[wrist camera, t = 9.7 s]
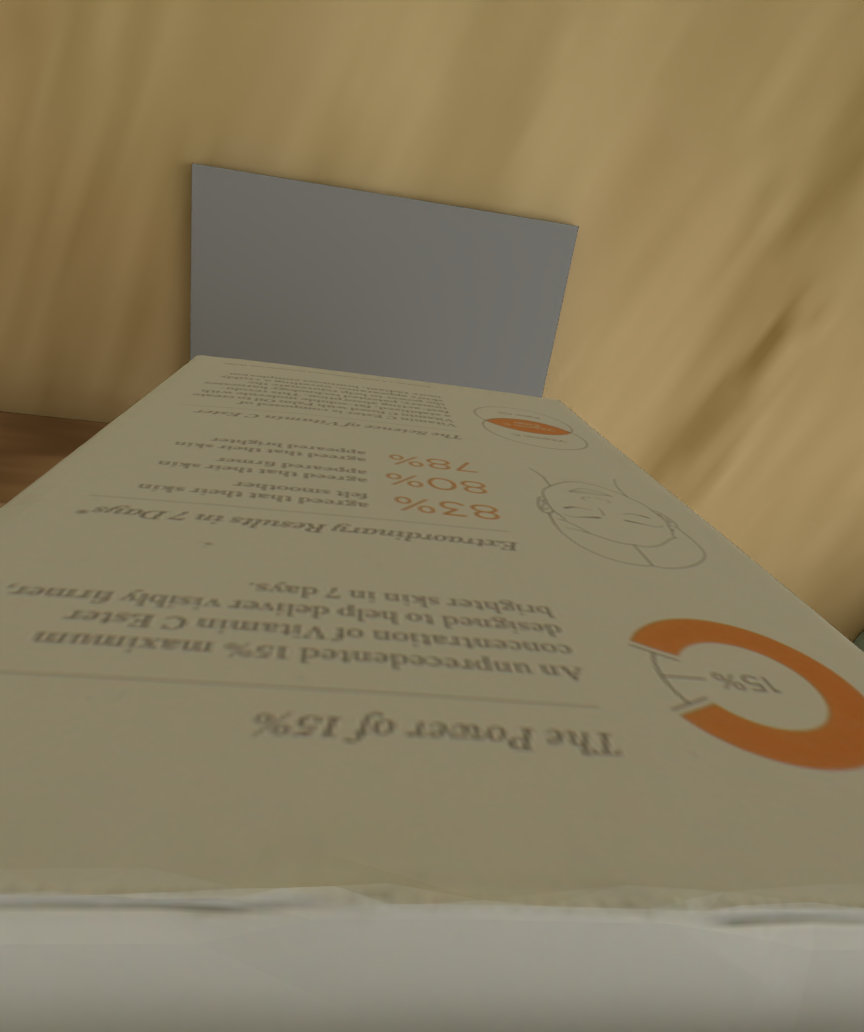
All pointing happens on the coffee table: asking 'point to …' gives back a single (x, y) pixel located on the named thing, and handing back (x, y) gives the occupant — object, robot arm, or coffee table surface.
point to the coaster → (373, 282)
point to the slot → (36, 447)
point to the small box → (410, 731)
